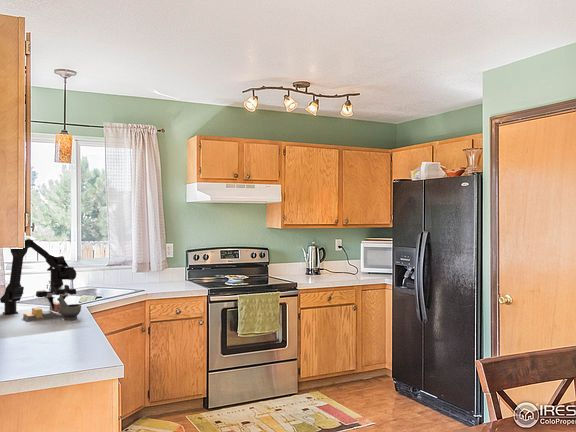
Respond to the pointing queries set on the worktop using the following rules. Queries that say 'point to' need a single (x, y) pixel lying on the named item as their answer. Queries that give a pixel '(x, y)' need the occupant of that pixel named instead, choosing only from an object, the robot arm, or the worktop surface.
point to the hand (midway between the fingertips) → (56, 309)
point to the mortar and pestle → (69, 310)
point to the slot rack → (45, 315)
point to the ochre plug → (37, 312)
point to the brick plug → (56, 307)
